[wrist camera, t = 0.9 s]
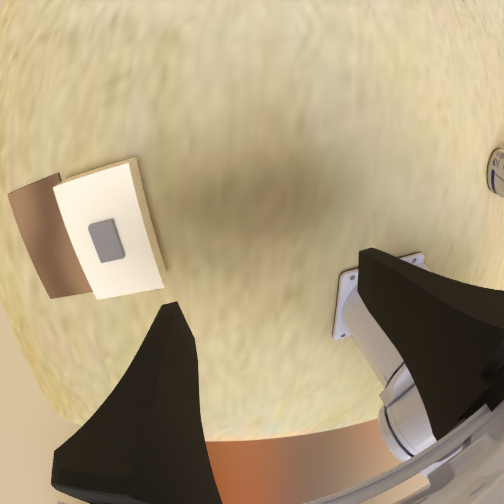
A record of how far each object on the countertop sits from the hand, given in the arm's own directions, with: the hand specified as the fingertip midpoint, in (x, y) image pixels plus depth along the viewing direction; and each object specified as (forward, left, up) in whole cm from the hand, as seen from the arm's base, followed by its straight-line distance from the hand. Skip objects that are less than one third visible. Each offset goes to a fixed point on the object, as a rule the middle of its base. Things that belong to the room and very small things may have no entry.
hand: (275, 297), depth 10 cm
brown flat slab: (+14, -1, -8) cm, 16 cm away
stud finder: (+8, -1, -9) cm, 12 cm away
